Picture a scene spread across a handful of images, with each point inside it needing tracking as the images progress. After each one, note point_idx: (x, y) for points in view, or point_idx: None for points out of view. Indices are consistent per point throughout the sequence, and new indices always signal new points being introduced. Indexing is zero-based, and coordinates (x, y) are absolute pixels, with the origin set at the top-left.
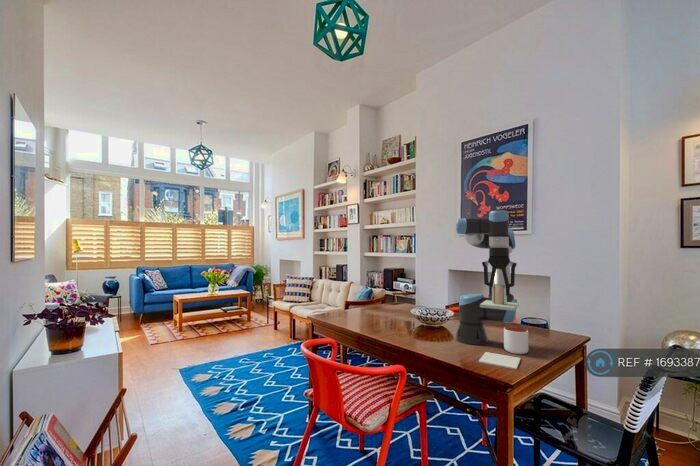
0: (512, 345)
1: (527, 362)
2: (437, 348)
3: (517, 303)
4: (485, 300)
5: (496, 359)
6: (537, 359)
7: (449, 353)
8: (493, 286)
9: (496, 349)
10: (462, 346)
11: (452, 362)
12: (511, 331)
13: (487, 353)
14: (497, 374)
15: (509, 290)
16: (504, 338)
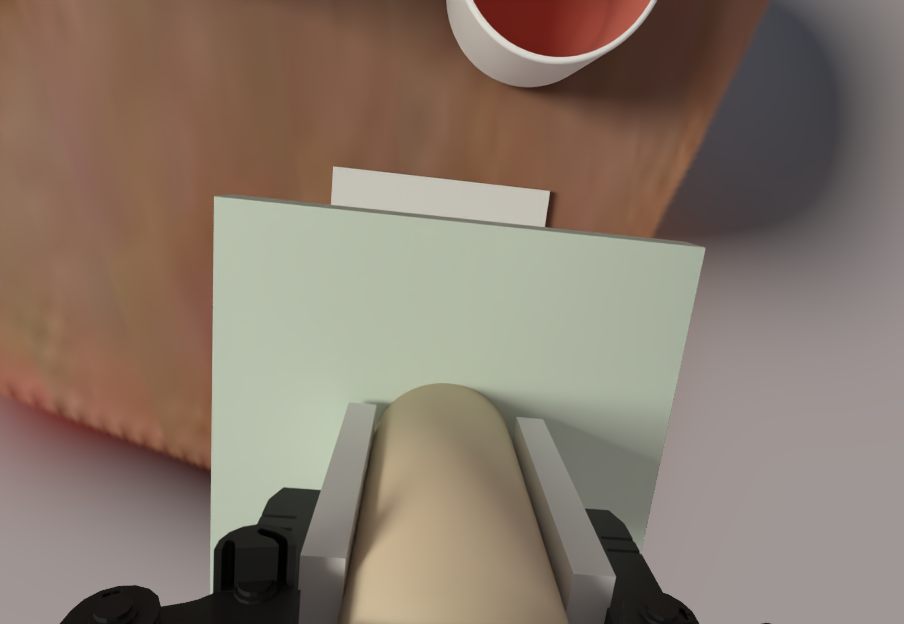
0: (511, 78)
1: (583, 229)
2: (16, 222)
3: (686, 297)
4: (214, 250)
5: None
6: (647, 134)
7: (125, 290)
8: (315, 570)
9: (395, 27)
10: (156, 76)
11: (191, 440)
12: (523, 57)
13: (350, 199)
14: None
15: (646, 584)
16: (455, 11)
